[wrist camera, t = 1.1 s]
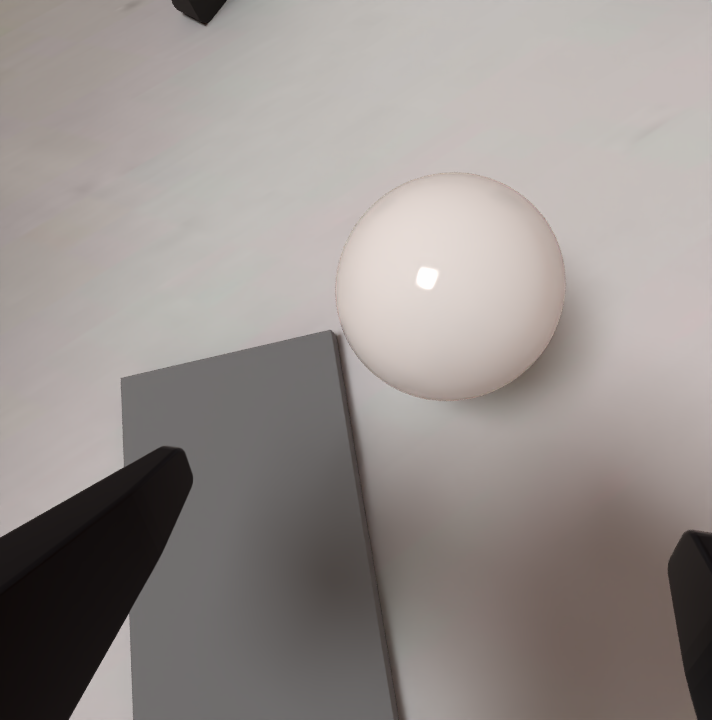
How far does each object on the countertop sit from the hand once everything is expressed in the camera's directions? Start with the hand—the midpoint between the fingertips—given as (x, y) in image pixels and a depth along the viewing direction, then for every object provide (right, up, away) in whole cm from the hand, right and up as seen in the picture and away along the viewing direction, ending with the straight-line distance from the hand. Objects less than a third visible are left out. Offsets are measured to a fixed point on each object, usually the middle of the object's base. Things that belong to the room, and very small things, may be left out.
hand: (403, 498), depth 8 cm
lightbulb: (+3, +3, +12) cm, 13 cm away
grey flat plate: (-6, -6, +12) cm, 15 cm away
